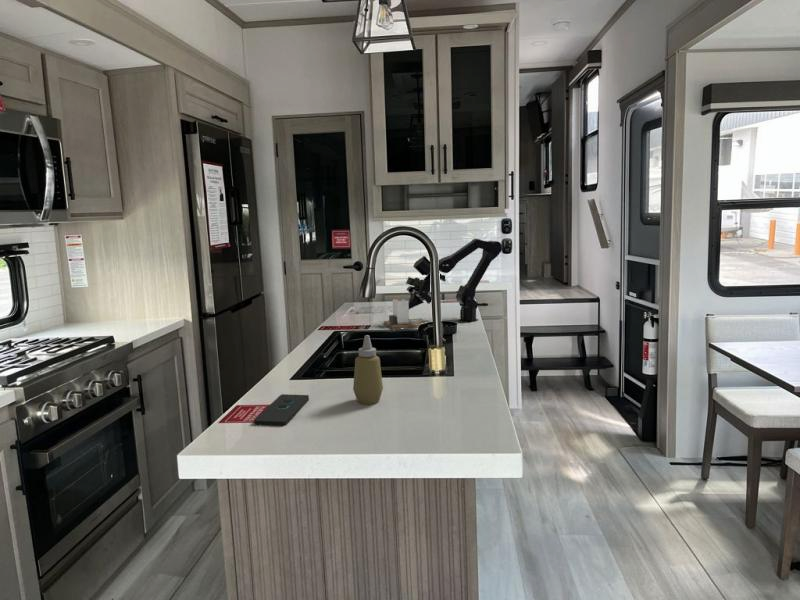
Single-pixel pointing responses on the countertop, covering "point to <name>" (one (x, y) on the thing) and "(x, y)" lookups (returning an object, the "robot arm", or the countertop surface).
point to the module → (401, 310)
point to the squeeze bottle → (367, 374)
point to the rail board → (412, 324)
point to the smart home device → (282, 410)
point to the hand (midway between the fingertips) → (406, 309)
